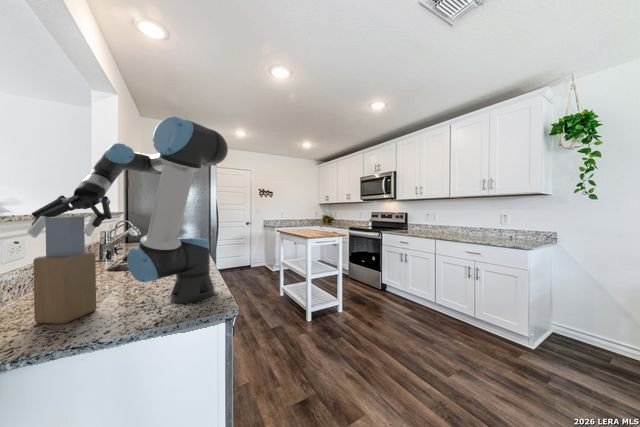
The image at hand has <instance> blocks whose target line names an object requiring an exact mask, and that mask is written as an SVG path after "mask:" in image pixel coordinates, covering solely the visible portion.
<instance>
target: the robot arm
mask: <svg viewBox="0 0 640 427" xmlns="http://www.w3.org/2000/svg"><path fill="white" fill-rule="evenodd" d="M152 142H153V148H154V149H155V151H156V152H158V153H154V154H147V153H146V154H145V153H141V152H135V151H134V149H133V148H131V146H129V145H126V144H125V143H121V142H114V143H112V144H111V145H109V147H108V148H107V149H105V151H104V153H103V155H102V156H101V158H100V159H98V161H97V162H96V163H95V165H94V166H93V167H92V169H91V170H90V172H88V173H87V175H86V176H85V177H84V179H83V180H82V181H81V182H80V183H79V185H78V186H77V187H76V188H75V189H74V191H73V195H72V196H70V197H65V196H64V195H59V196H58V197H57V198H56V199H55V200H53V201H51V202H49V203H48V204H45V205H44V206H41V207H40V208H39V209H37V210H35V211H33V212H32V213H31V216H33V217H34V220H33V222H32V223H31V226H30V228H29V229H28V230H27V231H26V233H27V234H28V235H30V237H32V238H37V237H38V236H39V235H40V234H41V232H43V230H44V229H45V228H46V226H45V217H59V216H60V215H62V214H64V213H67V212H69V211H70V212H72V211H75V210H81V209H82V210H87V209H91V211H92V212H94V214H95V215H92V217H91V218H90V220H89V221H88V223H87V224H86V225H85V226H84V230H83V231H84V234H85V235H86V237H91V236H92V235H93V233H94V231H95V229H96V228H98V227H100V226H101V224H102V223H103V221H104V220H111V219H112V217H113V216H112V213H111V207H110V203H111V200H110V198H109V197H108V196H107V195H106V194H107V193H108V191H109V190H110V188H111V187H112V185H113V184H114V182H116V180H117V178H118V177H119V176H120V175H121V174H122V173H123V171H125V170H126V171H133V172H140V173H147V174H153V175H160V177H159V178H160V179H159V181H158V182H159V183H158V187H157V190H156V191H157V192H156V194H155V195H156V196H155V199H154V204H153V208H152V212H151V218H150V221H149V226H148V230H147V234H146V235H144V236H142V237H141V238H140V240H139V244H138V246H134V247H132V248H131V249H129V251H128V253H127V256H126V260H127V261H126V262H127V267H128V270H129V272H130V274H131V275H132V276H133V278H134V279H135V280H136V281H138V282H140V283H148V282H153V281H157V280H160V279H165V278H167V277H171V276H175V281H174V284H173V287H172V289H171V293H170V300H171V302H173V303H178V304H186V303H195V302H200V301H203V300H206V299H208V298H210V297H213V295H214V294H215V286H214V283H213V280H212V278H211V275H210V252H211V251H210V240H208V239H207V238H200V237H179V234H180V230H181V226H182V223H183V218H184V214H185V211H186V206H187V202H188V199H189V198H188V197H189V194H190V190H191V186H192V182H193V177H194V174H195V172H198V171H200V170H201V169H202V168H201V167H202V166H204V167H208V166H214V165H217V164H219V163H220V164H221V163H222V162H223V161H225V159H226V157H227V156H228V149H229V148H228V143H227V141H226V139H225V138H224V136H223V135H221V134H220V132H218V131H216V130H214V129H212V128H208V127H206V126H203V125H201V124H198V123H196V122H194V121H191V120H189V119H186V118H182V117H179V116H174V115H173V116H172V115H171V116H167V117H164V118H163V119H162V120H161V121H159V123H158V124H157V126H156V127H155V129H154V132H153V137H152ZM70 204H71V205H70ZM98 204H102V212H103V213H101V212H100V210H99V209H98V207H97V206H96V205H98Z"/></svg>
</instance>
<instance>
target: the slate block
mask: <svg viewBox="0 0 640 427" xmlns="http://www.w3.org/2000/svg"><path fill="white" fill-rule="evenodd" d="M84 229H85V216H56V217H46V216H45V256H46V257H56V256H72V255H76V254H81V253H85V252H86V251H85V250H86V245H85V243H86V242H85V239H86V238H85V235H86V234H85V233H84V231H83V230H84Z"/></svg>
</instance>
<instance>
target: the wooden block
mask: <svg viewBox="0 0 640 427" xmlns="http://www.w3.org/2000/svg"><path fill="white" fill-rule="evenodd" d="M32 262H33V298H34V299H33V304H34V305H33V308H34V314H33V316H34V322H35V323H36V324H60V325H61V324H67V323H69V322H72V321H74V320H77V319H78V318H81V317H83V316H86V315H88V314H90V313H92V312H95V311H96V309H97V274H96V272H97V271H96V270H97V268H96V267H97V266H96V262H97V261H96V253H94V252H92V251H91V252H90V251H89V252H88V251H87V252H86V251H85V253H81V254H76V255H72V256H56V257H46V255H43V256H37V257H35V258H34V259H33V261H32Z"/></svg>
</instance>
